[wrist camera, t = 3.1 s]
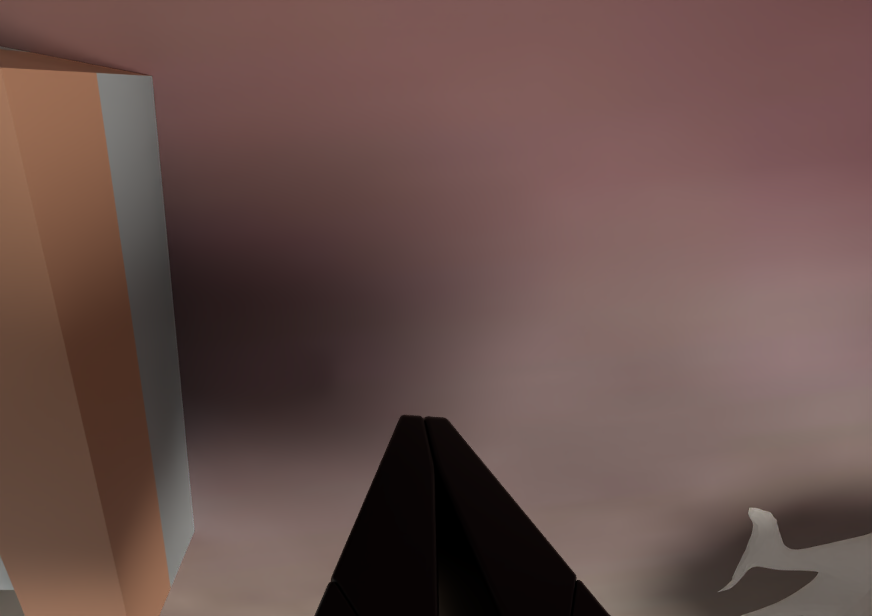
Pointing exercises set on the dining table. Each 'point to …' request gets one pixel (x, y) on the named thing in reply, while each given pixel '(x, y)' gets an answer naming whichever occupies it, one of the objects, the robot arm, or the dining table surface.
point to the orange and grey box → (86, 346)
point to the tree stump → (835, 563)
